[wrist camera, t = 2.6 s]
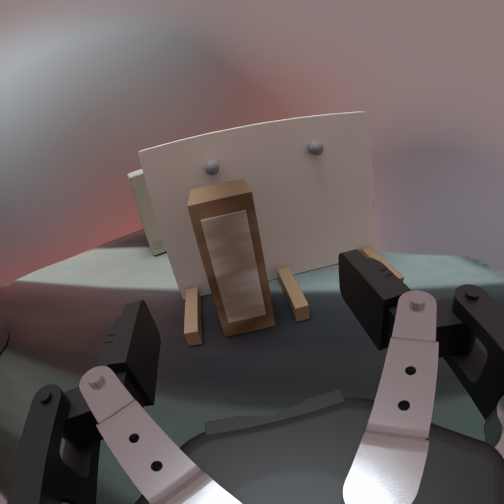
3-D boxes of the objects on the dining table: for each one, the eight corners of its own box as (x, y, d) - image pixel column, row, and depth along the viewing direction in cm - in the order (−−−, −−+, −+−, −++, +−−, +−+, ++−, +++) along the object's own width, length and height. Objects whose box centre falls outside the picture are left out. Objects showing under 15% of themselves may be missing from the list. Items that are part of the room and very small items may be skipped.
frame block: (225, 338, 26) (187, 206, 20) (221, 307, 30) (189, 190, 24) (275, 326, 26) (252, 192, 20) (265, 297, 30) (243, 178, 25)
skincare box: (181, 247, 44) (159, 167, 39) (154, 257, 43) (129, 177, 37) (172, 234, 50) (152, 164, 44) (148, 243, 48) (126, 172, 43)
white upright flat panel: (180, 347, 25) (115, 166, 18) (183, 293, 33) (140, 150, 26) (408, 288, 27) (412, 116, 19) (369, 249, 34) (361, 111, 27)
